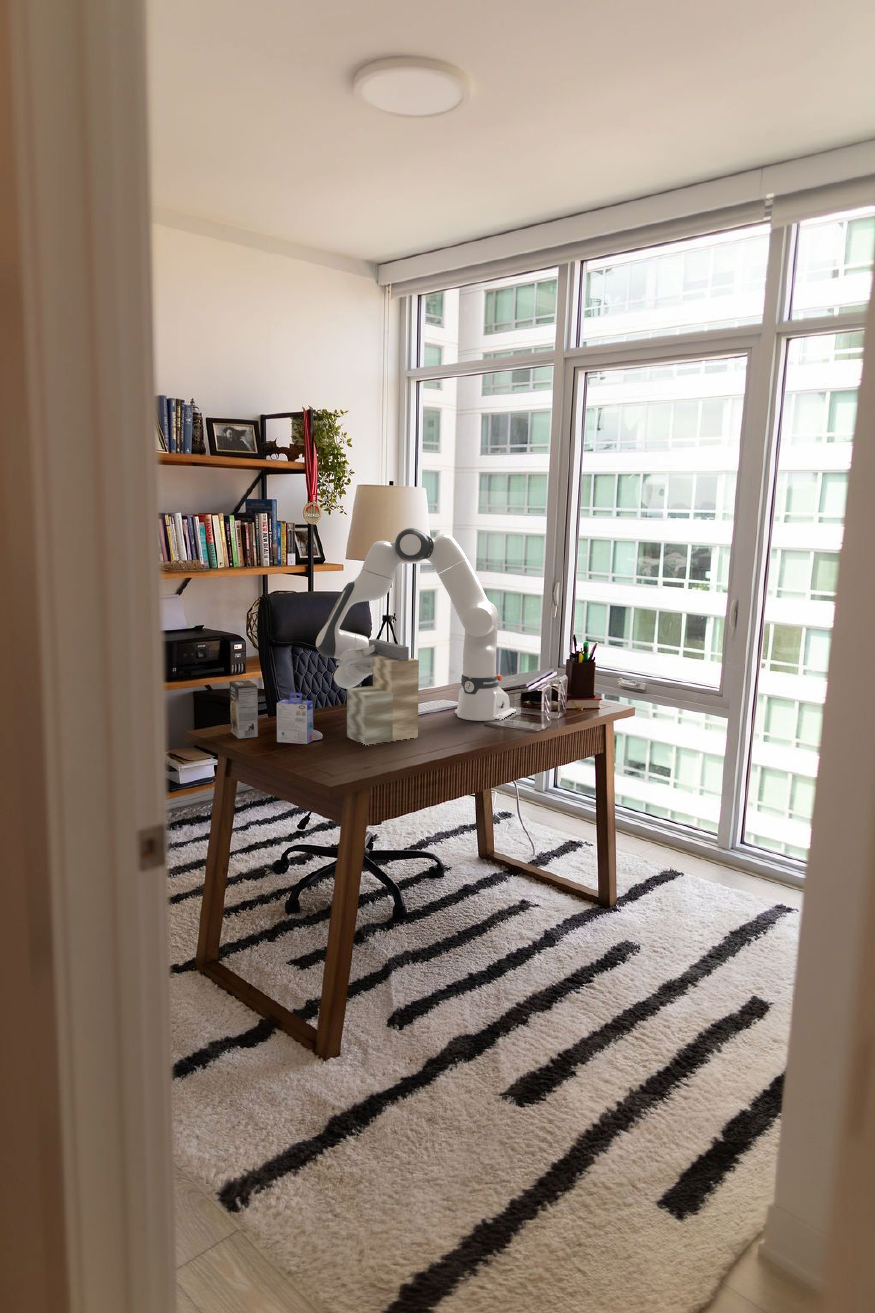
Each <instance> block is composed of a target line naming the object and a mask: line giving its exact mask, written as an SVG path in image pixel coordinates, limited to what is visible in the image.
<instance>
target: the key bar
mask: <svg viewBox="0 0 875 1313" xmlns="http://www.w3.org/2000/svg"><path fill="white" fill-rule="evenodd" d="M371 645H377V648H378V649H377V650H376V651H375V652H372V653H373V654H377V655H380V656H384V657H387V658H391V659H394V660H398V661H406V660H409V658H410V657H409V655H410V650H409V646H406V645H401V644H398V643H394V642H389V641H387V640H383V639H378V638H375V639H369V647H370V646H371Z"/></svg>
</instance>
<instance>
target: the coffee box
mask: <svg viewBox="0 0 875 1313" xmlns="http://www.w3.org/2000/svg"><path fill="white" fill-rule="evenodd" d="M228 683H229V703H230V704H229V708H230V709H229V710H230V711H229V713H230V715H229V716H230V733H232V735H234V736H235V737H236V738H237V739H247V738H248V739H251V738H258V737H259V725H258V724H259V722H258V720H259V718H258V717H259V714H258V713H259V712H258V709H259V708H258V705H259V704H258V685H257V684H256V683H254V682H253V681H251V680H250V679H249V680H230V681H229V682H228Z"/></svg>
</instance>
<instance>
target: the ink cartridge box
mask: <svg viewBox="0 0 875 1313" xmlns="http://www.w3.org/2000/svg"><path fill="white" fill-rule="evenodd" d="M293 696H298V697H293ZM302 698H303V692H290V696H289V699H281V700H279V701H278V702H276V742H277V743H284V744H285V743H286V744H288V743H289V744H301V745H308V744H309V743H311V742H313V741H314V701H313V700H303V699H302Z"/></svg>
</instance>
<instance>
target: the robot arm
mask: <svg viewBox="0 0 875 1313" xmlns="http://www.w3.org/2000/svg"><path fill="white" fill-rule="evenodd" d="M423 560H427V561H428V562H430V563H431V565H432V566H433V568H434V569H435V571H436V574H437V575H438V578H439V579H440V582H441V583H442V584H443V586H444V589H445V590H446V592H447V594H448V596H449V598H450V600H451V603H452V606H453V607H454V609H455V612H456V614H457V616H458V618H459V621H460V623H461V625H462V626H463V629H464V640H463V652H462V653H463V654H462V655H463V656H462V674H461V679H460V681H461V682H460V684H461V688H460V689H459V691H458V698H457V699H458V700H457V708H455V709H454V713H455V714H456V716H457V717H458V718H460V719H463V720H467V721H478V722H479V721H481V722H484V721H495V720H494V719H503V720H505V719H506V718H505V717H507V716H508V715H510V714H511V713H514V712H515V711H516V712H517V709H516V708H513V707H510V696H509V695H508V693H507V692H506V691H504V690H503V689H502V688H501V687H500V685H499V682H503V679H504V678H503V675H502V674H497V647H498V646H497V645H498V644H497V643H498V628H499V626H498V625H499V613H498V609H497V607H496V606H495V605H494V604H493V602H491V601H490V600H488V598H487V595H486V593H485V592H484V589H483V587H482V585H481V582H480V580H479V577H478V575H477V573H476V572H475V571H474V568H473V567H472V564H471V562H470V561H469V559H468V557H467V555H466V554H465V552H464V550H463V548H462V547H461V546H460V545H459V543H458V542H457V540H456V539H455V538H454V537H453V536H452V535H450V534H447V533H445V534H439V535H436V536H434V537H431V536H429V535H428V534H426V533H425V532H424V531H423V530H420V529H419V528H415V527H414V528H412V527H411V528H405V529H403V530H402V531H400V532H399V533H398V535H397V536H396V538H395V540H394V541H387V540H377V541H375V542H374V543H373V544H372V545H371V546H370V549H369V550H368V552H367V554H366V557H365V559H364V562H363V564H362V567H361V569H360V573H359V574H358V575H357V577H356V578H355V579H354V580H353V581H351V582H348V583H347V584H346V585H345V586H344V587H343V589H342V591H341V593H340V595H339V596H338V599H337V600H336V602H335V604H334V606H333V607H332V608H333V609H332V610H331V612H330V614H329V616H328V618H327V620H326V622H325V624H324V625H323V626H322V628H321V629H320V631H319V633H318V635H317V637H316V640H315V647H316V650H317V651H318V653H319V655H321V656H322V657H324V658H330V659H333V658H334V659H336V660H337V661H336V662H335V665H336V666H338V667H337V668H336V670H335V672H334V674H333V681H334V682H335V683H336V685H337V686H338V687H340V688H342V689H346V690H347V689H348V688H356V687H357V686H358V685H359V684H360V683H361V682H363V681H364V679H366V678H368V677H369V676H373V657H377V656H380V655H377V654H373V653H372V652H375V651H376V650H377V649H378V648H377V645H371V646H370V647H369V640H370V639H369V638H368V637H367V636H365V635H362V634H359V633H355V632H351V631H348V630H343V629H340V628H341V625H342V623H343V622H344V619H345V617H346V615H347V614H348V611H349V610H350V609H351V607H352V606H353V605H356V604H357V603H362V602H363V603H364V602H371V601H372V602H373V601H376V600H380V599H382V598H383V597H385V596H386V595H388V593H389V592H390V590H391V588H392V584H393V583H394V578H395V576H396V575H395V574H396V572H397V569H398V568H399V566H400V564H401V563H404V562H405V563H418V562H421V561H423ZM514 714H515V713H514ZM504 718H505V719H504ZM507 718H508V717H507Z"/></svg>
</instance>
